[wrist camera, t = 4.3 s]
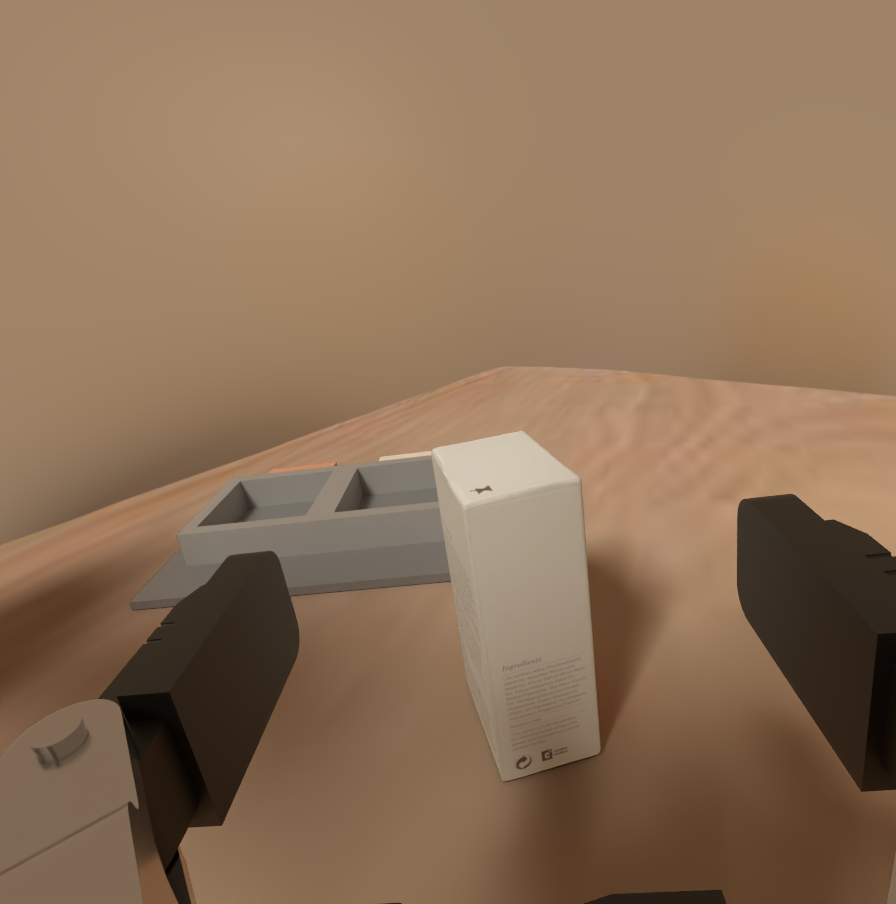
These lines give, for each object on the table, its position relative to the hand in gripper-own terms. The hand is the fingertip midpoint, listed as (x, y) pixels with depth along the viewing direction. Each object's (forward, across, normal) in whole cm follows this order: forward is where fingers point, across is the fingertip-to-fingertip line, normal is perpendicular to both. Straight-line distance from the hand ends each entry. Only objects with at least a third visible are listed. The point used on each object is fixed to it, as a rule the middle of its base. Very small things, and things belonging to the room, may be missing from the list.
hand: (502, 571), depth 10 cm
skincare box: (+11, 0, +14) cm, 18 cm away
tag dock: (+31, +13, +14) cm, 37 cm away
